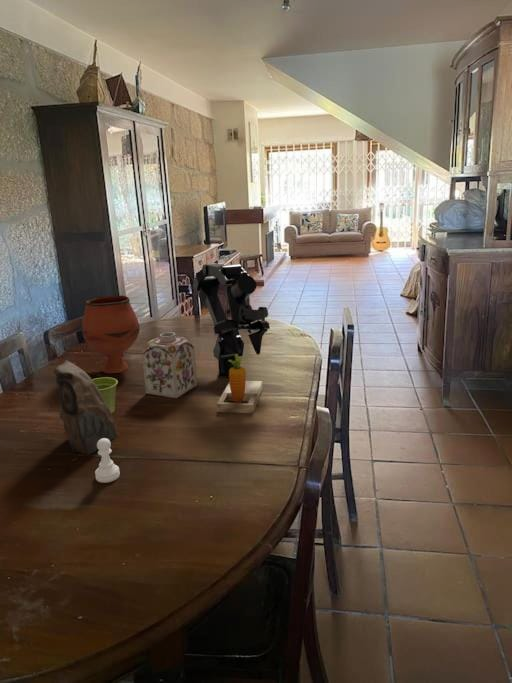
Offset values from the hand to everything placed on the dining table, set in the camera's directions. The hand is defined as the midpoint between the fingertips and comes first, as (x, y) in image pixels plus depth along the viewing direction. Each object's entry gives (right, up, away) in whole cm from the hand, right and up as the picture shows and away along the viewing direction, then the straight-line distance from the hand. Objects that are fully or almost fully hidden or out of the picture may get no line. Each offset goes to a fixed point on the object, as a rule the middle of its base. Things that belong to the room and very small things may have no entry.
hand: (248, 354), depth 149 cm
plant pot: (-40, -16, -8) cm, 44 cm away
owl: (-38, -21, -24) cm, 50 cm away
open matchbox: (-2, -13, -2) cm, 13 cm away
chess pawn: (-30, -25, -40) cm, 56 cm away
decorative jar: (-24, -11, +7) cm, 27 cm away
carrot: (-3, -14, -6) cm, 16 cm away
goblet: (-47, -6, +27) cm, 55 cm away
